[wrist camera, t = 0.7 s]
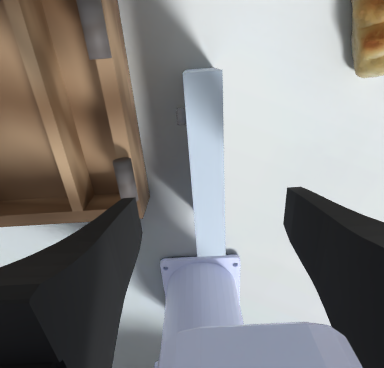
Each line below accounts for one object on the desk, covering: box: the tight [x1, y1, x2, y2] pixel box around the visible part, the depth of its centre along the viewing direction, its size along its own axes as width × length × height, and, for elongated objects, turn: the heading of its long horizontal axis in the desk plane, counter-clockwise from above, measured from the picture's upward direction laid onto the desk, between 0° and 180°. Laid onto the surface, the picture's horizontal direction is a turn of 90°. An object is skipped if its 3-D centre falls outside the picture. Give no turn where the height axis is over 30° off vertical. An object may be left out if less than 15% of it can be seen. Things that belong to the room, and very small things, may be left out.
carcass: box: [0, 0, 150, 227], centre depth 17 cm, size 16×14×5 cm
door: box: [177, 68, 226, 257], centre depth 18 cm, size 12×3×6 cm, turn 4°
